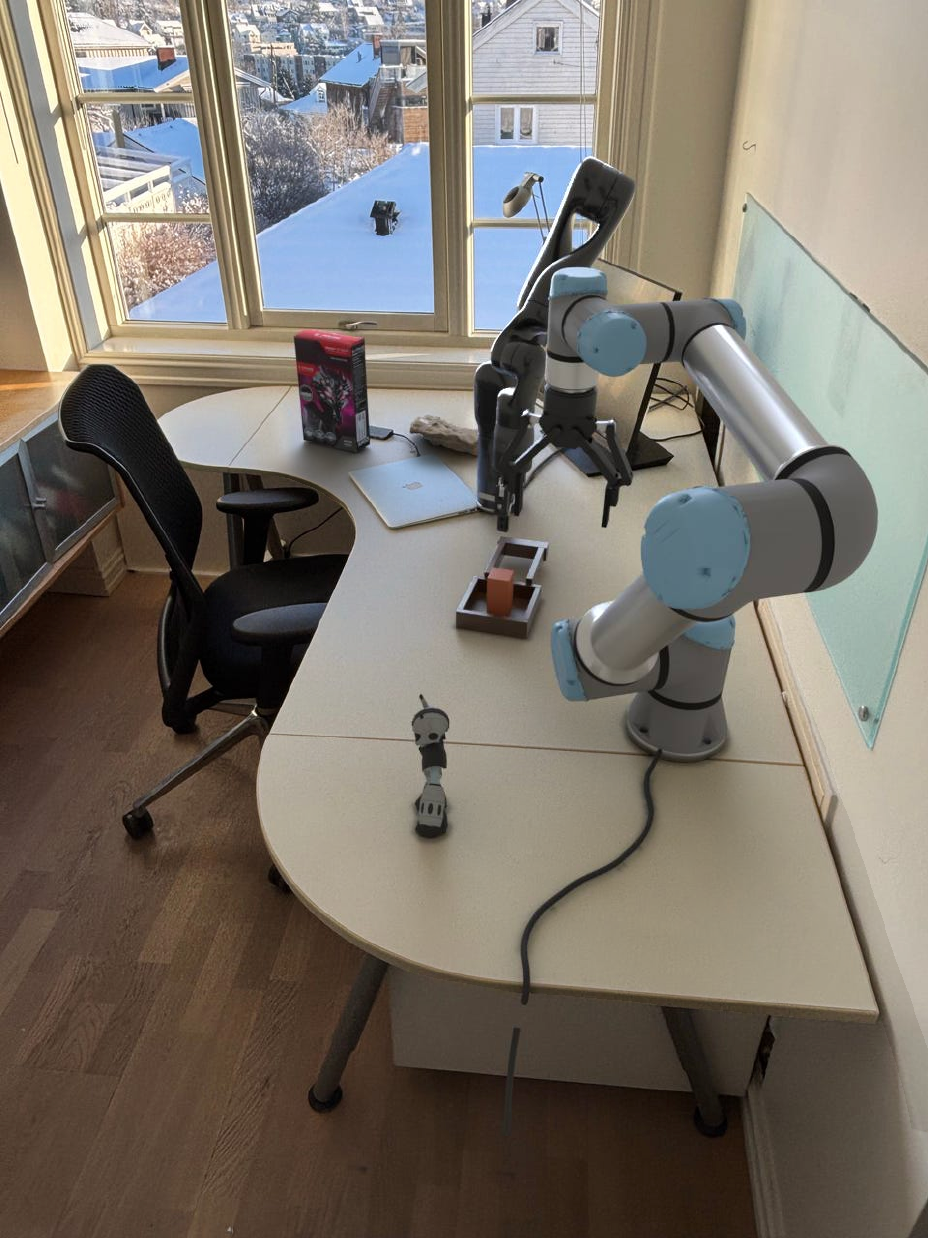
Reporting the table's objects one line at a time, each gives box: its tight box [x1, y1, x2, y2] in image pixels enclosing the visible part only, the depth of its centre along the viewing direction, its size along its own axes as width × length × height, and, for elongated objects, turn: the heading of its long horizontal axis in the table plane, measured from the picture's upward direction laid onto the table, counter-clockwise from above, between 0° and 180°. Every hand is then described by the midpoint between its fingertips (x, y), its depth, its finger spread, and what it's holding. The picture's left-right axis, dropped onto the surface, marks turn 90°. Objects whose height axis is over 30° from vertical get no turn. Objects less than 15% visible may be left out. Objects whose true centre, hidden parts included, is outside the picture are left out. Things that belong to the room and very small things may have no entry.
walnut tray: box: [455, 535, 550, 640], centre depth 175 cm, size 28×13×4 cm, turn 165°
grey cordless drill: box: [410, 693, 450, 839], centre depth 122 cm, size 20×5×20 cm, turn 3°
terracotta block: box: [486, 567, 515, 617], centre depth 167 cm, size 4×4×8 cm
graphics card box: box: [293, 328, 371, 453], centre depth 227 cm, size 17×7×27 cm, turn 62°
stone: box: [409, 414, 478, 457], centre depth 232 cm, size 21×15×6 cm
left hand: (508, 520), depth 182 cm, fingers open, 8 cm apart
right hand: (561, 518), depth 142 cm, fingers open, 13 cm apart
